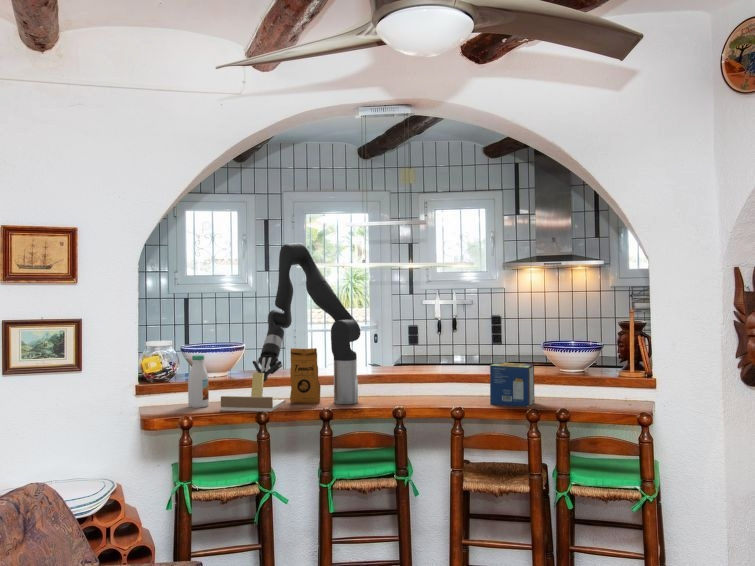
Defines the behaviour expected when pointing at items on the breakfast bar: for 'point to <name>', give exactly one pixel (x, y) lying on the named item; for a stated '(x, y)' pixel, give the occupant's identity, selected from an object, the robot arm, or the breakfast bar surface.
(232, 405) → the board
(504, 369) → the protein box
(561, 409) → the breakfast bar surface
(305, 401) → the coffee package
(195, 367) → the milk bottle
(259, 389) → the bar
